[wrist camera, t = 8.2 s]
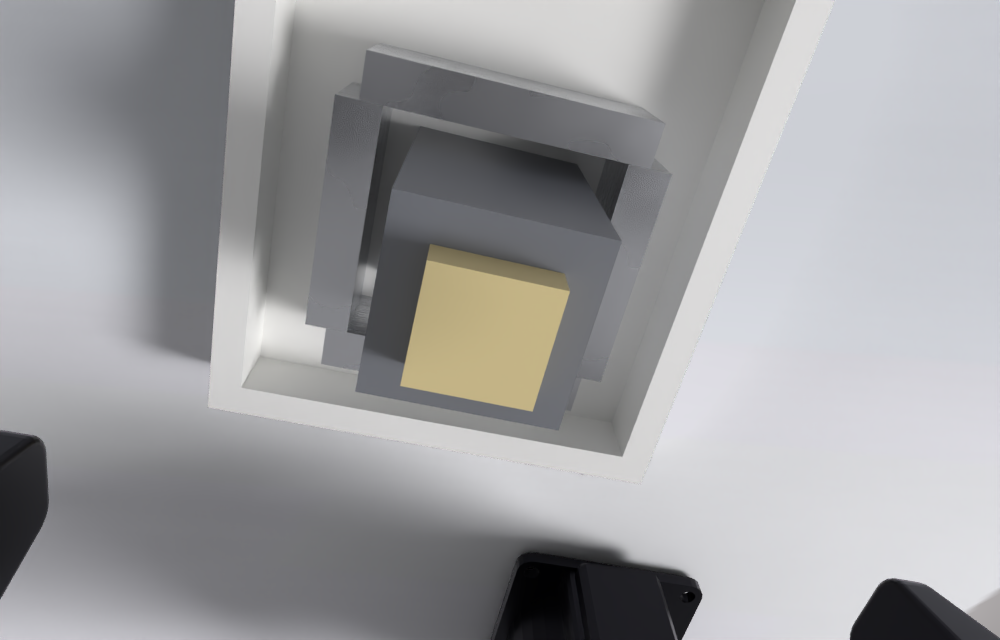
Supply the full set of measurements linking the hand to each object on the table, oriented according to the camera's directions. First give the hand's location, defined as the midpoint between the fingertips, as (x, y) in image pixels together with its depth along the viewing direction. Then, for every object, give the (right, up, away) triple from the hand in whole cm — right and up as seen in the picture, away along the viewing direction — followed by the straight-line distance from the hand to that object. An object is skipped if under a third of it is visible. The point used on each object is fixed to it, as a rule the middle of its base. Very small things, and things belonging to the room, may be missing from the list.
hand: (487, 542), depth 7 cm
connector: (0, +5, +10) cm, 12 cm away
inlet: (0, +5, +11) cm, 12 cm away
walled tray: (0, +6, +10) cm, 12 cm away
